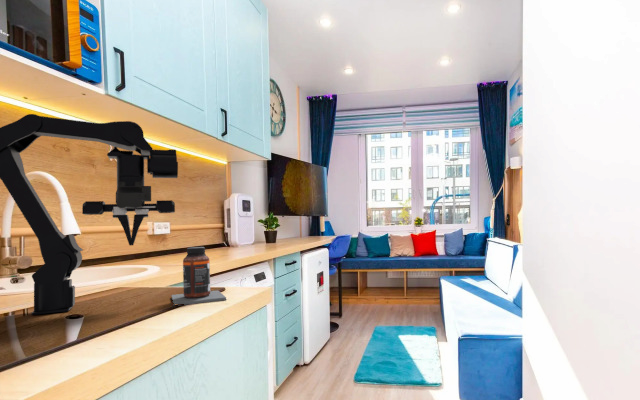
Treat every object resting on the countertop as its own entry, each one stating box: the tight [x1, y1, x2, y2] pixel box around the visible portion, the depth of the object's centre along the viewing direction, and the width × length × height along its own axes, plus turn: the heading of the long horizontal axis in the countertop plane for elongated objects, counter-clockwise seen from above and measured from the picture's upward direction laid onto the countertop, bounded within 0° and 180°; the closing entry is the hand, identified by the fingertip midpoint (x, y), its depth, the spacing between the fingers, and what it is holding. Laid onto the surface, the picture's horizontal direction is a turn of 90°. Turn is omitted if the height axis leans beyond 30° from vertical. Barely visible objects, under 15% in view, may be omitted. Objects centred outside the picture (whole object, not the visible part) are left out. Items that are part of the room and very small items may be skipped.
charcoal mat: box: [170, 290, 227, 306], centre depth 91 cm, size 11×11×1 cm
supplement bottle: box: [182, 246, 211, 298], centre depth 91 cm, size 6×6×11 cm
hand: (131, 245), depth 90 cm, fingers closed
